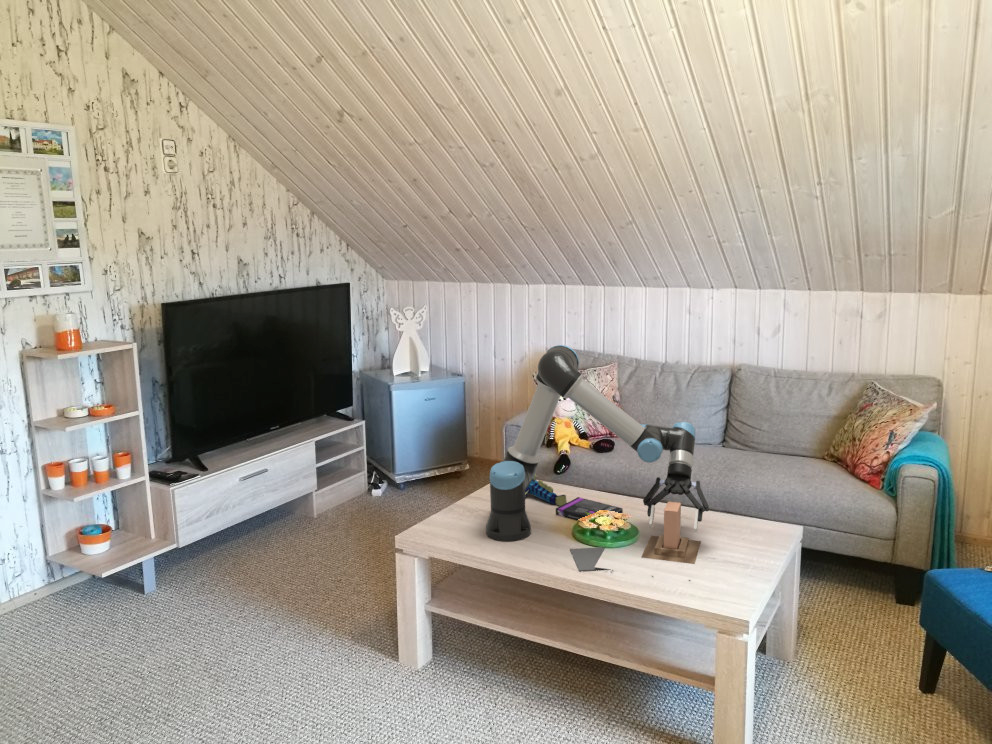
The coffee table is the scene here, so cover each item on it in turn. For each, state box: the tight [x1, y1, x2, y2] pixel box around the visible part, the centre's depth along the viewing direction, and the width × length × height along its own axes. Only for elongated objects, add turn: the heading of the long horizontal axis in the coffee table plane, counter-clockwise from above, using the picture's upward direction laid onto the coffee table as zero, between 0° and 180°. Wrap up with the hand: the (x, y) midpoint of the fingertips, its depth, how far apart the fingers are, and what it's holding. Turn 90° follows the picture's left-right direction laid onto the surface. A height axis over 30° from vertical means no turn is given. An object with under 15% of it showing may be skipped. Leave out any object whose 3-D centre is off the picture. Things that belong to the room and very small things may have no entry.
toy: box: [525, 473, 568, 507], centre depth 300 cm, size 14×25×10 cm, turn 39°
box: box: [555, 496, 624, 521], centre depth 285 cm, size 14×4×20 cm
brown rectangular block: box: [663, 501, 682, 550], centre depth 249 cm, size 4×8×14 cm, turn 160°
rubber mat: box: [569, 546, 612, 572], centre depth 248 cm, size 16×16×1 cm
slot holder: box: [641, 534, 702, 565], centre depth 251 cm, size 16×18×4 cm
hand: (673, 528), depth 248 cm, fingers open, 13 cm apart
